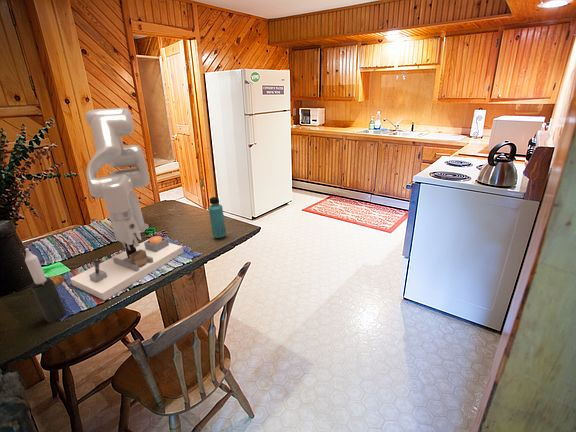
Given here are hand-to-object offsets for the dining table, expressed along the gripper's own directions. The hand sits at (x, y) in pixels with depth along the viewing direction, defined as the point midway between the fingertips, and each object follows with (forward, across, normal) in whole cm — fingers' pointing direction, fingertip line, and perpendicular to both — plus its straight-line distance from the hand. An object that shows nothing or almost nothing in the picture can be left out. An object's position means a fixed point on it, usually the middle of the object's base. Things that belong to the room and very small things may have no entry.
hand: (132, 256), depth 121 cm
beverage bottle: (+6, -12, -36) cm, 39 cm away
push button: (+3, +3, -13) cm, 13 cm away
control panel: (+6, +2, 0) cm, 6 cm away
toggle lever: (0, +2, +13) cm, 13 cm away
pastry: (+6, +20, +23) cm, 31 cm away
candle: (+6, -1, +30) cm, 31 cm away
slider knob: (+2, -4, 0) cm, 4 cm away
